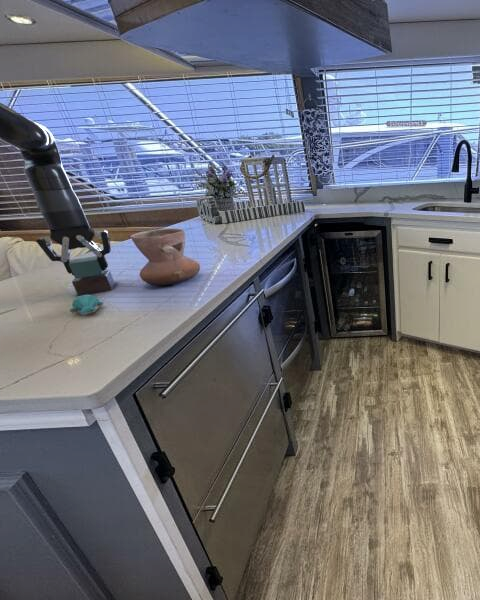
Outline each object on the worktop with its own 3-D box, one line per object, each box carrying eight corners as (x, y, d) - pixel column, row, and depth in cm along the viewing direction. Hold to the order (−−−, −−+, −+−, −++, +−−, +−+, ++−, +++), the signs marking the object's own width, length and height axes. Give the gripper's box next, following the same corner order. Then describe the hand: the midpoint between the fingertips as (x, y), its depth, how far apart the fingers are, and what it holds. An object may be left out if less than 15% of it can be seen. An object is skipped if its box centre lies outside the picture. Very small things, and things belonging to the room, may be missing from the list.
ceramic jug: (210, 280, 92) (195, 231, 87) (149, 295, 83) (129, 241, 78) (193, 268, 104) (180, 224, 99) (139, 280, 95) (120, 232, 90)
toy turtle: (105, 304, 79) (98, 289, 77) (106, 312, 74) (99, 297, 72) (72, 311, 75) (65, 296, 74) (72, 321, 70) (64, 305, 69)
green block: (75, 278, 84) (68, 263, 83) (79, 273, 88) (72, 259, 87) (102, 274, 87) (96, 259, 85) (105, 269, 91) (99, 255, 90)
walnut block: (78, 295, 85) (71, 281, 83) (83, 288, 90) (77, 275, 89) (112, 289, 88) (106, 275, 87) (114, 282, 94) (109, 269, 92)
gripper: (100, 204, 87) (124, 263, 94) (26, 210, 80) (57, 274, 87) (96, 206, 81) (121, 270, 88) (15, 213, 74) (50, 281, 81)
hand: (89, 271), depth 87 cm, fingers closed on green block, 5 cm apart
